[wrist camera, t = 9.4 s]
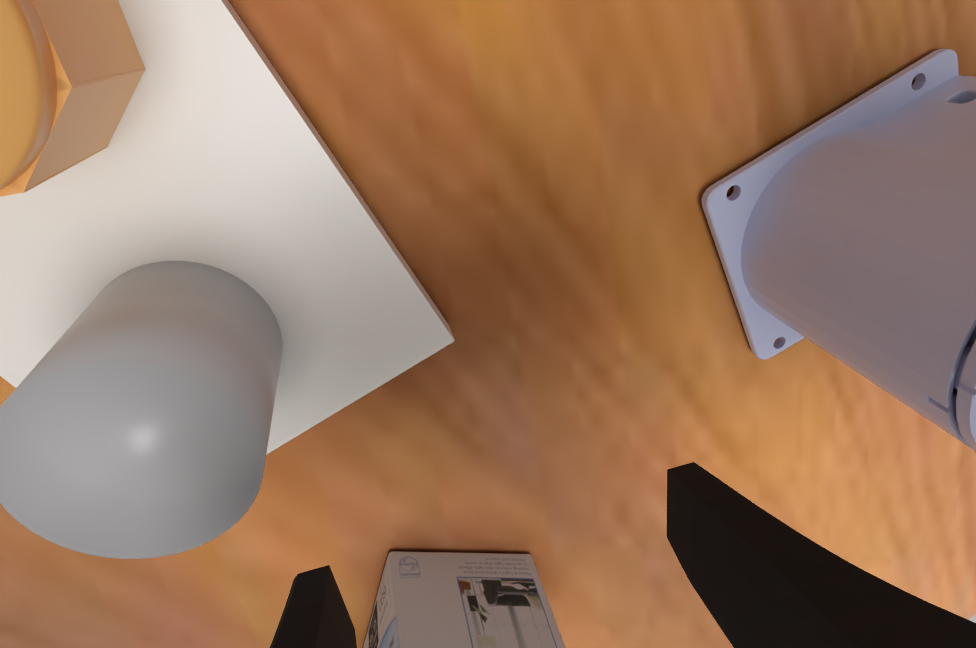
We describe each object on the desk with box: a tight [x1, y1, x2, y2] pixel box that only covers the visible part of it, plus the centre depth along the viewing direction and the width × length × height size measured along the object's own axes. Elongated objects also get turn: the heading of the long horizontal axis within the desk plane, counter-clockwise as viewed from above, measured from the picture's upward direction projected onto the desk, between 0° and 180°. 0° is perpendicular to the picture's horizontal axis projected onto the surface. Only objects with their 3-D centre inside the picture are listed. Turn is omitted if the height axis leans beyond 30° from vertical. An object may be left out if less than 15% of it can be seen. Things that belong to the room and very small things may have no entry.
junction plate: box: [0, 0, 455, 559], centre depth 13 cm, size 11×17×7 cm, turn 28°
